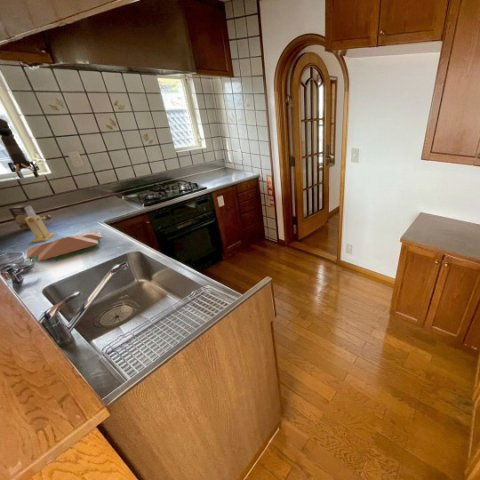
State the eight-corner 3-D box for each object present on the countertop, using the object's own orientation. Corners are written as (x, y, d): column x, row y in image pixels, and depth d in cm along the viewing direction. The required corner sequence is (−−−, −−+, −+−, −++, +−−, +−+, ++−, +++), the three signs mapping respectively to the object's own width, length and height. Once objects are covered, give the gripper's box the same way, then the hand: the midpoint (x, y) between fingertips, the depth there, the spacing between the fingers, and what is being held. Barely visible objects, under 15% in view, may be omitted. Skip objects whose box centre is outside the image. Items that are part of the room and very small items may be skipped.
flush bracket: (42, 235, 171) (30, 214, 164) (56, 234, 173) (44, 213, 166) (31, 242, 163) (17, 221, 156) (46, 241, 164) (33, 219, 157)
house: (106, 247, 155) (100, 234, 151) (29, 269, 135) (20, 256, 131) (101, 235, 170) (95, 223, 166) (30, 254, 150) (22, 241, 146)
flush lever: (47, 220, 174) (45, 215, 173) (53, 219, 175) (52, 214, 174) (28, 223, 160) (26, 217, 160) (35, 222, 161) (33, 216, 160)
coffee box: (20, 230, 180) (7, 208, 173) (28, 226, 186) (15, 205, 178) (36, 229, 181) (22, 207, 174) (42, 225, 187) (30, 204, 179)
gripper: (-3, 154, 163) (12, 180, 170) (24, 152, 165) (38, 178, 173) (7, 152, 169) (21, 177, 177) (33, 150, 172) (46, 175, 179)
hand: (29, 177), depth 175 cm, fingers open, 8 cm apart
